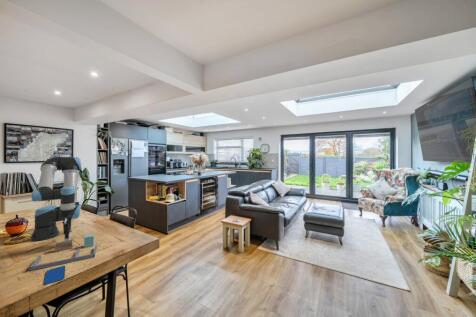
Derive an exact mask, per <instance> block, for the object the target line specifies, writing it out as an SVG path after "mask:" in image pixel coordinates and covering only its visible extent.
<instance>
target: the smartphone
mask: <svg viewBox="0 0 476 317" xmlns="http://www.w3.org/2000/svg"><path fill="white" fill-rule="evenodd" d="M65 275H66V265H62V266H59V267H54V268H51V269H47V270H46V273H45V277H44V281H43V286H47V285H50V284H54V283H57V282H61V281H64V279H65Z"/></svg>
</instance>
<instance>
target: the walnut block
mask: <svg viewBox="0 0 476 317" xmlns="http://www.w3.org/2000/svg"><path fill="white" fill-rule="evenodd" d="M54 248H55V249H54V250H55V253H59V252H64V251H68V250H72V249H73V239H70V240H67V241H64V240H63V241H58V242H56V243H55V247H54Z"/></svg>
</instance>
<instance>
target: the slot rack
mask: <svg viewBox="0 0 476 317" xmlns="http://www.w3.org/2000/svg"><path fill="white" fill-rule="evenodd" d="M97 251H98V244H96V245H95V244H94V248H93V251H92V253H90V254H85V255H80V256H79V254H80V252H81V248H77V250H76V252H75V254H74V256H73V257H69V258H64V259H60V260H54V261H51V262H45V263H42V264H41V263H40V261H41V260H42V255H39V256H37V258H36V259H35V260H34V261H33V262H32V264H30V266H29V267H28V271H29V272H33V271H37V270H42V269H46V268H51V267H55V266H60V265H64V264H68V263H73V262H74V263H75V262H78V261H83V260H84V261H85V260H88V259H92V258H95V257H96V254H97ZM39 263H40V264H39Z"/></svg>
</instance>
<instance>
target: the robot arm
mask: <svg viewBox="0 0 476 317" xmlns="http://www.w3.org/2000/svg"><path fill="white" fill-rule="evenodd" d="M39 168H40V176H39V181H38V186H37V189H36V190H33V191H32V192H31V202H47V201H56V200H60V204H59V205H58V206H57V204H53V205H52V204H50V205H47V206H42V207H39V208H37V209H36V210H34V228H33V232H32V234H31V236H30V241H32V242H39V241H45V240H49V239H53V238H55V237H57V236H59V235H60V230H59V229H58V227H57V226H58V225H57V222H62V227H63V233H62V235H63V236H64V238H63V239H64V240H63V241H67V240H71V233H72V220H76V219H78V218H80V216H81V215H80V214H81V209H82V204H81V203H80V202H79V201H78V196H77V195H78V174H79V173H80V171H81V170H82V168H83V167H82V161H81V158H80V157H79V156H53V157H50V158H48V159H46V160H45V161H44V162H42V163H41V166H40V167H39ZM57 171H61V173H62V174H63V187H61V188H55V189H54V182H55V175H56V174H55V173H56V172H57Z"/></svg>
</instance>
